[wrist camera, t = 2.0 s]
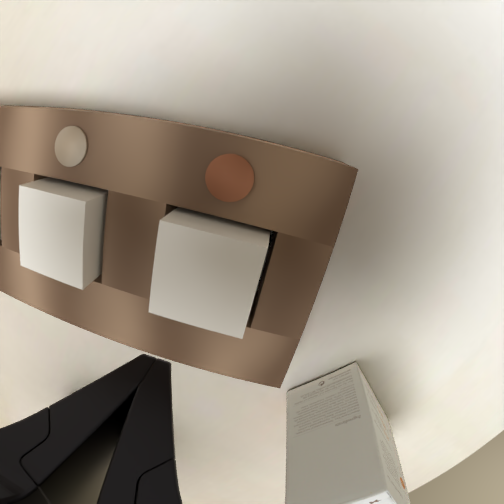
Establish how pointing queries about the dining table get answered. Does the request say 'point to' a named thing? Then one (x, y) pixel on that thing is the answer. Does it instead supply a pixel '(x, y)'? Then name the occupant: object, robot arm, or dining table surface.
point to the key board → (162, 203)
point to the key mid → (62, 230)
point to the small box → (340, 444)
